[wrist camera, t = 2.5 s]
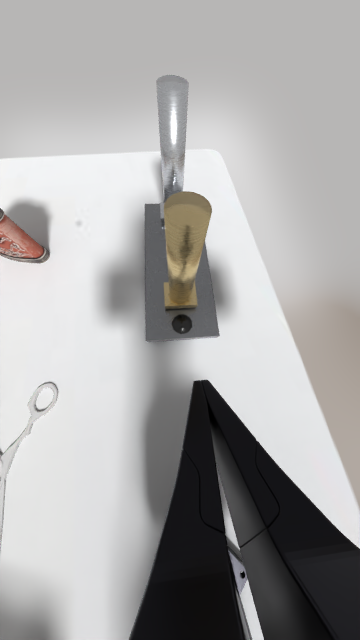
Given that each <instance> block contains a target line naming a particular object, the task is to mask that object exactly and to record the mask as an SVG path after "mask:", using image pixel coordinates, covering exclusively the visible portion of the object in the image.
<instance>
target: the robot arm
mask: <svg viewBox="0 0 360 640" xmlns="http://www.w3.org/2000/svg"><path fill="white" fill-rule="evenodd" d="M215 460H216V461H215ZM216 464H217V467H218V471H219V475H220V478H221V482H222V486H223V489H224V493H225V497H226V500H227V504H228V508H229V511H230V515H231V519H232V523H233V526H234V530H235V534H236V537H237V541H238V545H239V548H240V552H241V556H242V560H243V562H242V561H241V560H240V559H239V558H238V557H237V555H236V554H235V553H234V552H233V551H232V550H231V549H230V548H229V547H228V546H227V540H226V535H225V525H224V518H223V511H222V504H221V497H220V490H219V482H218V475H217V468H216ZM241 571H243V572H242V573H240V572H241ZM247 578H248V582H249V585H250V589H251V593H252V596H253V600H254V604H255V607H256V611H257V615H258V618H259V622H260V626H261V630H262V633H263V637H264V640H360V549H359V548H358V547H357V546H356V545H355V544H353V543H352V542H351V541H350V540H349V539H348V538H347V537H346V536H344V535H343V534H342V533H341V532H340V531H339V530H338V529H337V528H336V527H335V526H334V525H333V524H332V523H331V522H330V521H329V520H328V519H327V517H326V516H325V515H324V514H323V513H322V512H321V511H320V510H319V509H318V508H317V507H316V506H315V505H314V504H313V503H312V502H311V500H310V499H309V498H308V497H307V496H306V495H305V494H304V493H303V492H302V491H301V490H300V489H299V488H298V487H297V486H296V484H295V483H294V482H293V481H292V480H291V479H290V478H289V477H288V476H287V475H286V474H285V473H284V471H283V470H282V469H281V468H280V467H279V466H278V465H277V464H276V463H275V461H274V460H273V459H272V458H271V457H270V455H269V454H268V453H267V452H266V451H265V450H264V448H263V447H262V446H261V445H260V443H259V442H258V441H256V438H255V437H254V436H253V435H252V434H251V432H250V431H249V430H248V429H247V427H246V426H245V425H244V424H243V422H242V421H241V420H240V419H239V417H238V416H237V415H236V414H235V413H234V411H233V410H232V409H231V408H230V406H229V405H228V404H227V403H226V401H225V400H224V399H223V398H222V396H221V395H220V394H219V393H218V392H217V390H216V389H215V388H214V387H213V385H212V384H211V383H210V382H209V381H208V380H201V381H200V380H199V381H194V383H193V389H192V394H191V400H190V406H189V412H188V418H187V424H186V430H185V436H184V441H183V447H182V453H181V458H180V464H179V469H178V474H177V478H176V482H175V486H174V490H173V494H172V498H171V502H170V505H169V509H168V513H167V516H166V520H165V524H164V527H163V531H162V534H161V538H160V542H159V545H158V549H157V553H156V556H155V559H154V563H153V566H152V570H151V573H150V576H149V580H148V583H147V586H146V589H145V592H144V595H143V598H142V601H141V604H140V607H139V611H138V614H137V617H136V620H135V623H134V626H133V629H132V632H131V635H130V638H129V640H252V637H251V633H250V630H249V626H248V623H247V619H246V616H245V612H244V609H243V605H242V602H241V598H240V594H241V591H242V589H243V587H244V585H245V583H246V581H247Z"/></svg>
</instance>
